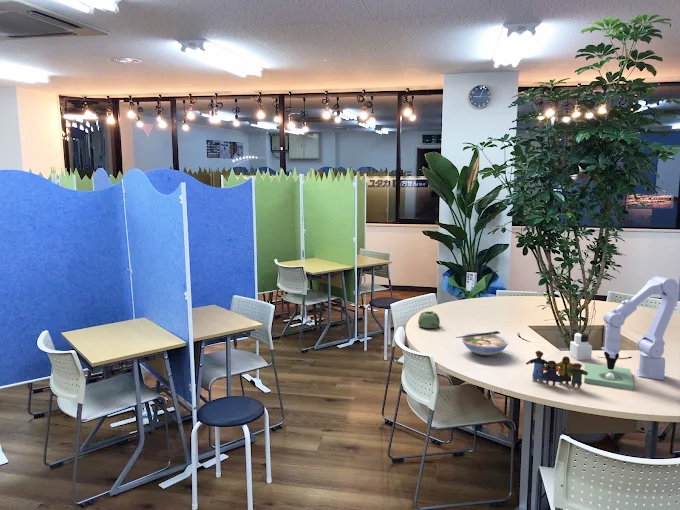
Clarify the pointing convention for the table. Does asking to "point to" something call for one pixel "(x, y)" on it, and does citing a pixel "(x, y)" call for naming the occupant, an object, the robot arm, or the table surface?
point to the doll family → (552, 367)
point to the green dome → (428, 320)
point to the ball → (610, 376)
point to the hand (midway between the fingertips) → (610, 368)
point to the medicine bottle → (580, 347)
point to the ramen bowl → (485, 342)
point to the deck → (599, 377)
